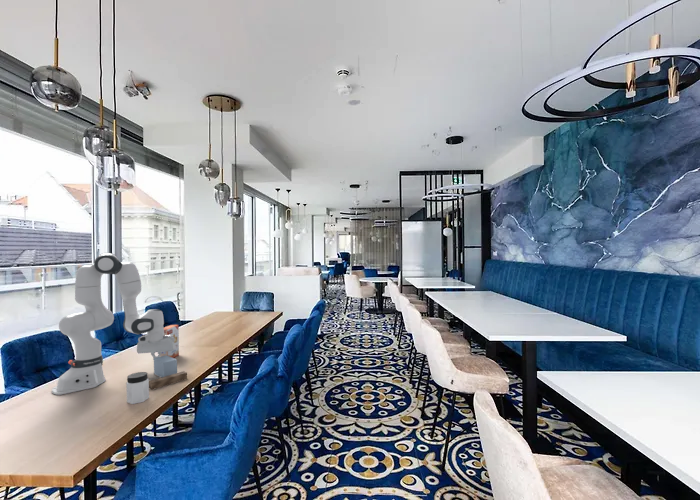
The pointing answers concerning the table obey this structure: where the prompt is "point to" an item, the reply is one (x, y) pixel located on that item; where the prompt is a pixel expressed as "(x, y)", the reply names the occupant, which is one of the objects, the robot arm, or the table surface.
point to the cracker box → (174, 332)
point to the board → (167, 380)
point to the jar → (137, 387)
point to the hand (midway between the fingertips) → (156, 359)
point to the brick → (165, 366)
